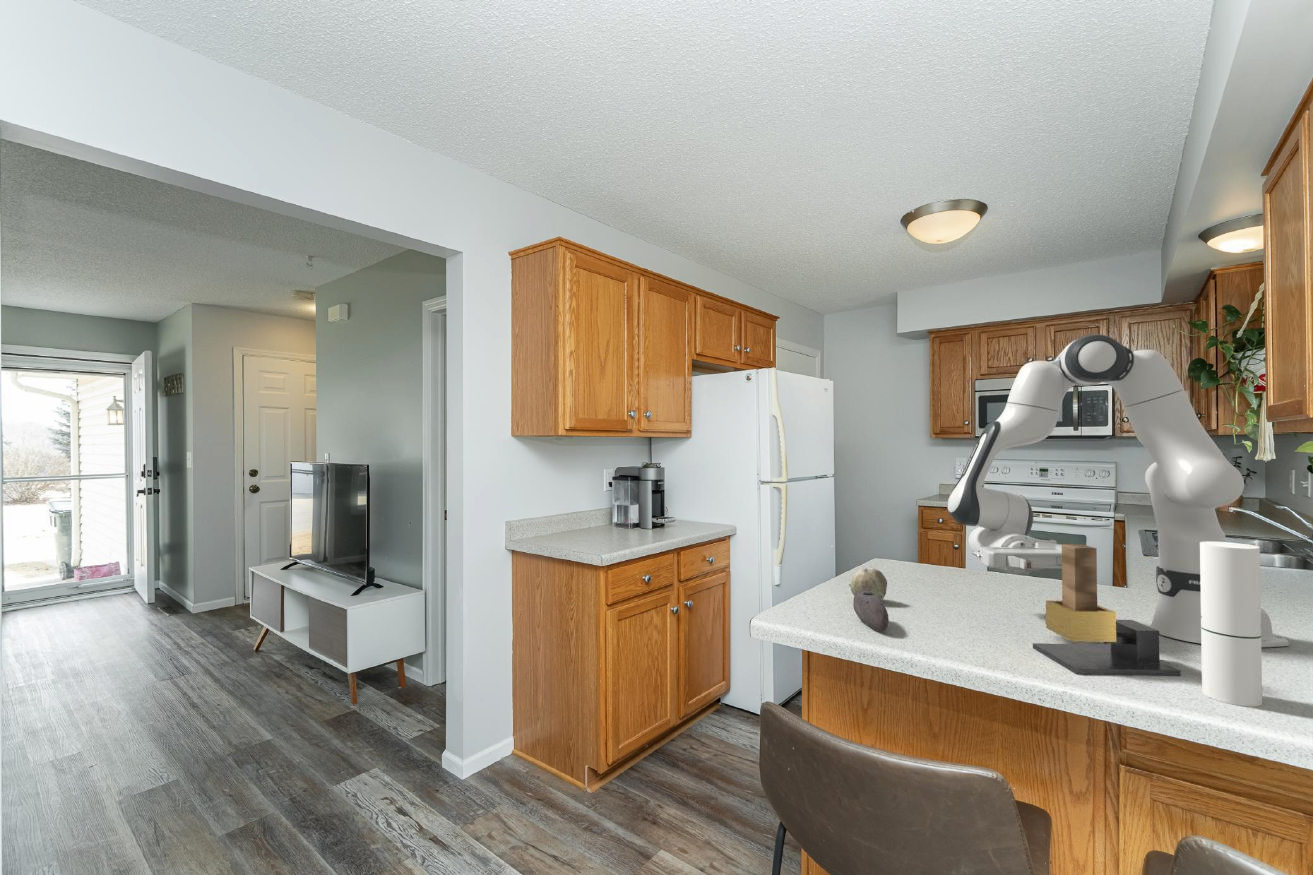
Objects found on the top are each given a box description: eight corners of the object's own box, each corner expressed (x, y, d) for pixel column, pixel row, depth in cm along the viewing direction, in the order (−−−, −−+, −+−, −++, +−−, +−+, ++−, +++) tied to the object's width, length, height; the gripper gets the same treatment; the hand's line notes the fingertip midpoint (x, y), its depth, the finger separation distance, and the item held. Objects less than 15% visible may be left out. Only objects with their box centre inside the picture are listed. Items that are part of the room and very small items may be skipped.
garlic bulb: (885, 611, 159) (899, 577, 157) (864, 610, 155) (877, 575, 153) (860, 593, 167) (872, 560, 165) (838, 591, 163) (851, 558, 161)
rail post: (1084, 626, 118) (1082, 544, 118) (1098, 632, 114) (1097, 548, 114) (1062, 626, 118) (1061, 544, 118) (1075, 632, 114) (1074, 548, 114)
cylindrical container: (1260, 696, 99) (1257, 544, 99) (1264, 710, 94) (1261, 550, 94) (1201, 685, 104) (1199, 540, 104) (1202, 698, 99) (1199, 545, 99)
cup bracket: (1124, 649, 122) (1123, 597, 122) (1180, 676, 108) (1179, 617, 108) (1032, 648, 123) (1032, 596, 123) (1076, 674, 109) (1075, 616, 109)
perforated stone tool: (896, 636, 131) (895, 604, 131) (871, 636, 131) (871, 604, 131) (873, 617, 146) (873, 588, 146) (851, 616, 146) (851, 588, 146)
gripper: (968, 538, 139) (999, 549, 125) (1060, 539, 138) (1101, 550, 124) (968, 566, 139) (999, 579, 125) (1060, 567, 138) (1101, 580, 124)
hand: (1051, 565), depth 125 cm, fingers open, 8 cm apart
